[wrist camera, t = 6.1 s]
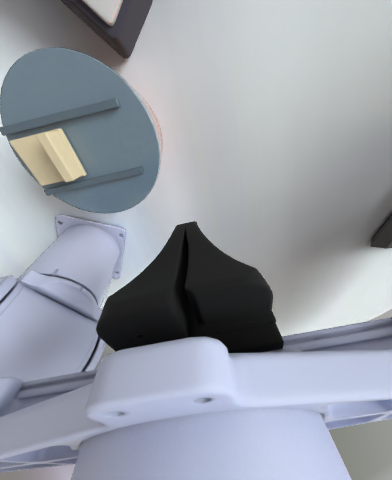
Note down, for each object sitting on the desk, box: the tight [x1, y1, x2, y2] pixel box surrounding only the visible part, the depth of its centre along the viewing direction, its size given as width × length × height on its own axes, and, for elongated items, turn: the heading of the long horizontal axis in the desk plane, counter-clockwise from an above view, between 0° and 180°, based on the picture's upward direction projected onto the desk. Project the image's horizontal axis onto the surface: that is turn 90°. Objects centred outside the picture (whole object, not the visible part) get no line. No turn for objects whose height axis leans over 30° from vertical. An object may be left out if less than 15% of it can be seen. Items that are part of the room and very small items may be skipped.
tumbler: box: [0, 47, 162, 213], centre depth 14 cm, size 9×9×7 cm
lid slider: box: [9, 129, 87, 186], centre depth 11 cm, size 3×3×2 cm
